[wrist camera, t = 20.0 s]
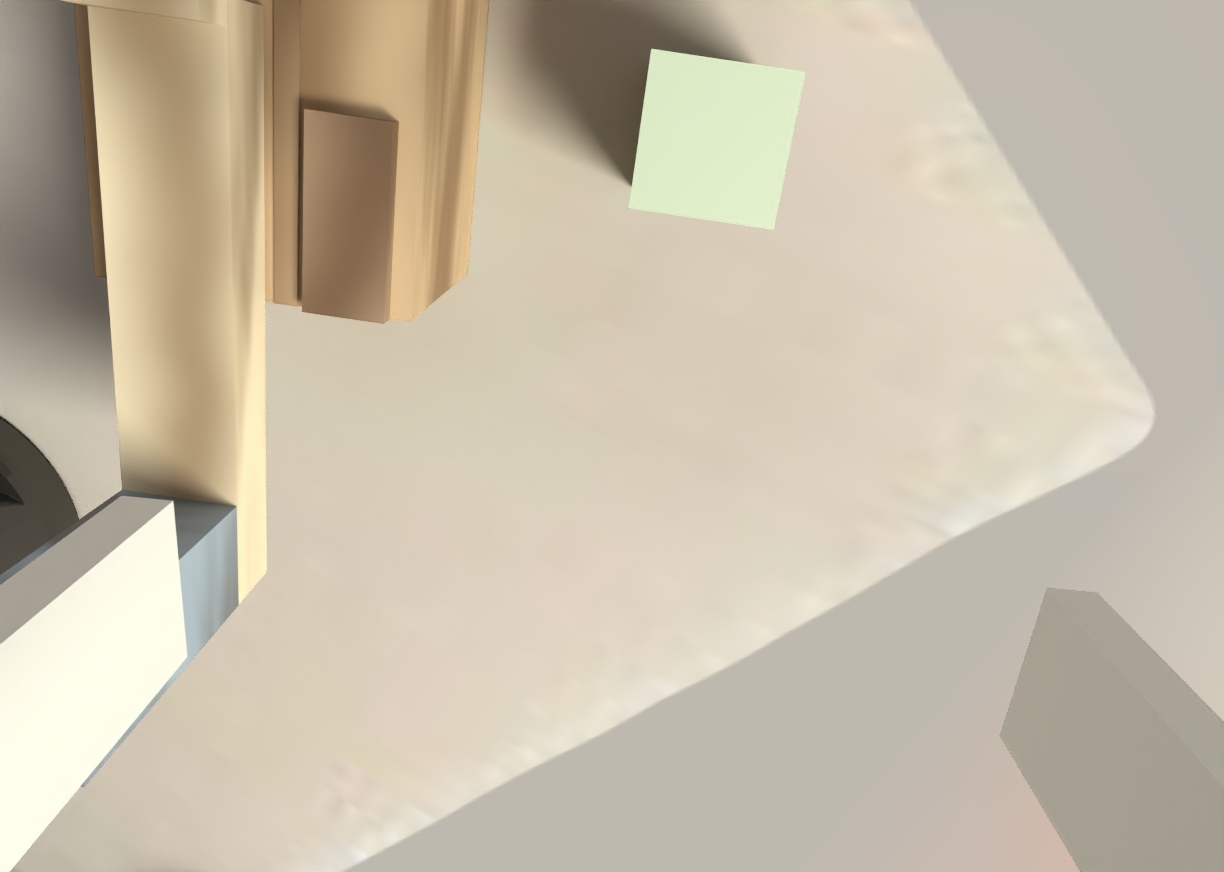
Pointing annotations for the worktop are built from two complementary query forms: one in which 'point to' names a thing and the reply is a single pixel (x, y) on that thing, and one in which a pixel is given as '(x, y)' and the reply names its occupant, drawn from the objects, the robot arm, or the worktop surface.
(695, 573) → the worktop surface
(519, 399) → the worktop surface
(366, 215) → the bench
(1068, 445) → the worktop surface
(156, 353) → the beige piece
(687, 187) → the block
